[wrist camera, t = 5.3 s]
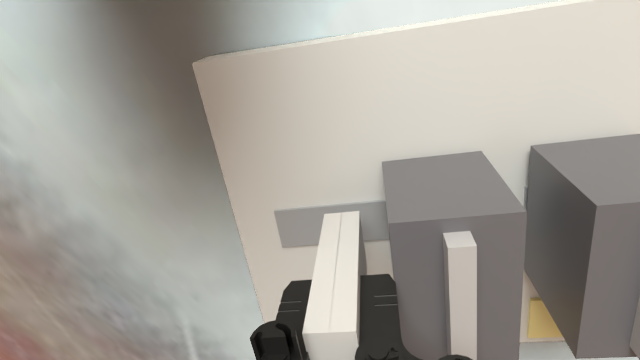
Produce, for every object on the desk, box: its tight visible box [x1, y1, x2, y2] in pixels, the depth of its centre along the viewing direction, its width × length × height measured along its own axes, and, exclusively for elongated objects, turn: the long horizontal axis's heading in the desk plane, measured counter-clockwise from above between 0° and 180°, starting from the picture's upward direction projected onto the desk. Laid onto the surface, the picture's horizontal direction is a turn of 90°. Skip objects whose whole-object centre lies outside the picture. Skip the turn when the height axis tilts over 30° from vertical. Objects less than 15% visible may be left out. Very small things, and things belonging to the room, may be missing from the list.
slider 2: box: [524, 134, 640, 360], centre depth 14 cm, size 4×6×6 cm, turn 9°
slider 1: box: [382, 151, 527, 360], centre depth 15 cm, size 4×6×6 cm, turn 9°
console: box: [192, 0, 640, 343], centre depth 18 cm, size 36×16×2 cm, turn 99°
